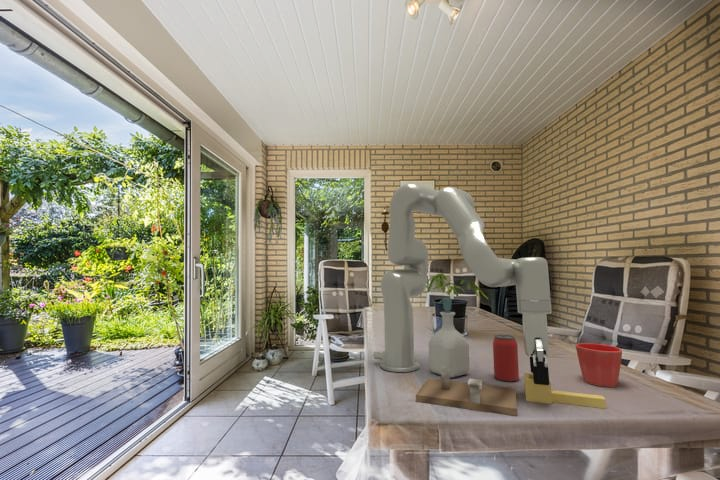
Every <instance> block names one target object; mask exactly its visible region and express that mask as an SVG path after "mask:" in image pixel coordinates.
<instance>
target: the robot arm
mask: <svg viewBox="0 0 720 480" xmlns="http://www.w3.org/2000/svg"><path fill="white" fill-rule="evenodd" d="M474 208H475V201H474V198H473V196H472V195H471V194H470V193H468V191H465V190H462V189H460V188H457V187H455V186H454V187H453V186H445V187H442V188H441V189H440V190H438V189H434V188H431V187H429V186H424V185H422V184H419V183H413V182H412V183H411V182H408V183H405V184H402V185H401V186H399V187H398V188H397V189H396V190H395V192H394V193H393V195H392V196H391V199H390V202H389V227H388V228H389V230H388V241H387V259H388V260H389V262H390V263H391V264H393V265H396V266H403V268H402V269H401V268H400V269H399V268H397V269H391V270H389V271H387V272H385V273H384V275H383V276H382V278H381V280H380V290H381V295H382V299H383V300H382V301H383V318H384V323H383V324H384V351H382V352H380V351H374V352H373V353H372V356H373V358H374V359H376V360H381V361H380V363H379V367H380V368H381V370H385V371H387V372H393V373H408V372H415V371H417V370H419V368H420V363H419V362H418V361H415V348H414V347H415V339H414V338H415V337H414V329H415V328H414V309H413V305H412V302H411V299H410V298H415V297H419V296H420V295H422V294H423V293H424V291H425V290H426V287H427V281H428V268H429V250H428V247H427V245H426V243H424V241H422V240H421V239H418V238H415V231H416V222H415V218H414V214H413V213H414V212H418V213H421V214H422V213H423V214H425V215H433V216H434V215H435V216H440V217H442V218H443V219H444V222H446V224H447V225H448V226H449V228H450V229H451V231H452V233H453V234H454V236H455V237H456V238H457V240H458V241H457V242H458V245H459V246H458V247H459V249H460V253H461V256H462V258H463V259H464V262H465V264H466V265H467V267H468V268H469V269H470V270H471V272H472V273H473V275H474V277H476V279H477V280H478V281H479V282H480V283H481V284H483V285H485V286H487V287H490V288H498V287H500V288H501V287H510V286H515V291H516V292H515V293H516V304H517V305H516V306H517V307H516V308H517V313H519V314H521V315H522V332H523V333H522V335H523V344H524V345H523V349H524V352H525V353H524V354H525V355H526V356H528V357H529V365H530V367H529V368H530V372H531V374H533V380H534V384H539V385H549V379H550V373H549V366H548V362H547V357H549V353H550V352H549V348H550V347H549V331H548V329H549V328H548V320H547V319H548V318H547V317H548V316H547V315H551V314H552V299H551V290H550V286H551V285H550V277H549V276H550V275H549V265H548V264H549V263H548V261H547V259H546V258H544V257H542V256H541V257H539V256H533V257H532V256H530V257H520V258H517V259H513V258H503V257H497V254H495V252H494V251H493V250H492V249H491V247H490V245H489V244H488V242H487V241H486V239H485V237H484V229H485V223H484V220H483V219H482V218H481V217H480V215H479V214H478V213H477V211H476V210H475V209H474Z"/></svg>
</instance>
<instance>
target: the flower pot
mask: <svg viewBox="0 0 720 480" xmlns="http://www.w3.org/2000/svg"><path fill="white" fill-rule="evenodd" d="M575 350H576V353H577V359H578V362H579V363H578V364H579V367H580V372H581V375H582V379H583V381H584V382H585V383H587V384H589V385H593V386H597V387H598V386H599V387H607V388H612V387H613V388H615V387H617V386H618V384H619V379H620V378H619V377H620V371H621V365H622V357H623V356H622V355H623V350H622V349H621V348H620V347H617V346H613V345H608V344H601V343H588V342H587V343H586V342H585V343H582V342H581V343H580V342H579V343H576V344H575Z"/></svg>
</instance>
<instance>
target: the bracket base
mask: <svg viewBox="0 0 720 480" xmlns="http://www.w3.org/2000/svg"><path fill="white" fill-rule="evenodd" d="M441 373H442V375H441V379H439V378H438V379H437V378H429V377H428V378H427V379H426V380H425V381H424V383H423V385H422V386H420V388H419V389H418V390H417V393H416V394H415V402H418V403H425V404H430V405H431V404H432V405H438V406H446V407H453V408H461V409H465V410H466V409H467V410H471V411H472V410H474V411H480V412H487V413H493V414H501V415H507V416H515V417H517V416H518V406H517V405H518V404H517V394H516V387H509V386H508V387H507V386H498V385H489V384H484V380H483V379H475V378H469V379H468V382H464V381H457V380H456V381H454V380H451V378H450V368H449V366H447V365H442V366H441Z"/></svg>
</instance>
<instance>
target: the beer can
mask: <svg viewBox="0 0 720 480" xmlns="http://www.w3.org/2000/svg"><path fill="white" fill-rule="evenodd" d="M492 351H493V352H492V353H493V356H492V357H493V375H494V377H495V379H497V380H499V381H502V382H507V383H509V382H511V383H512V382H516V381H518V380H519V378H520V371H519V350H518V342H517V340H516V337H515V336H514V335H510V334H495V335H494V338H493V341H492Z"/></svg>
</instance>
